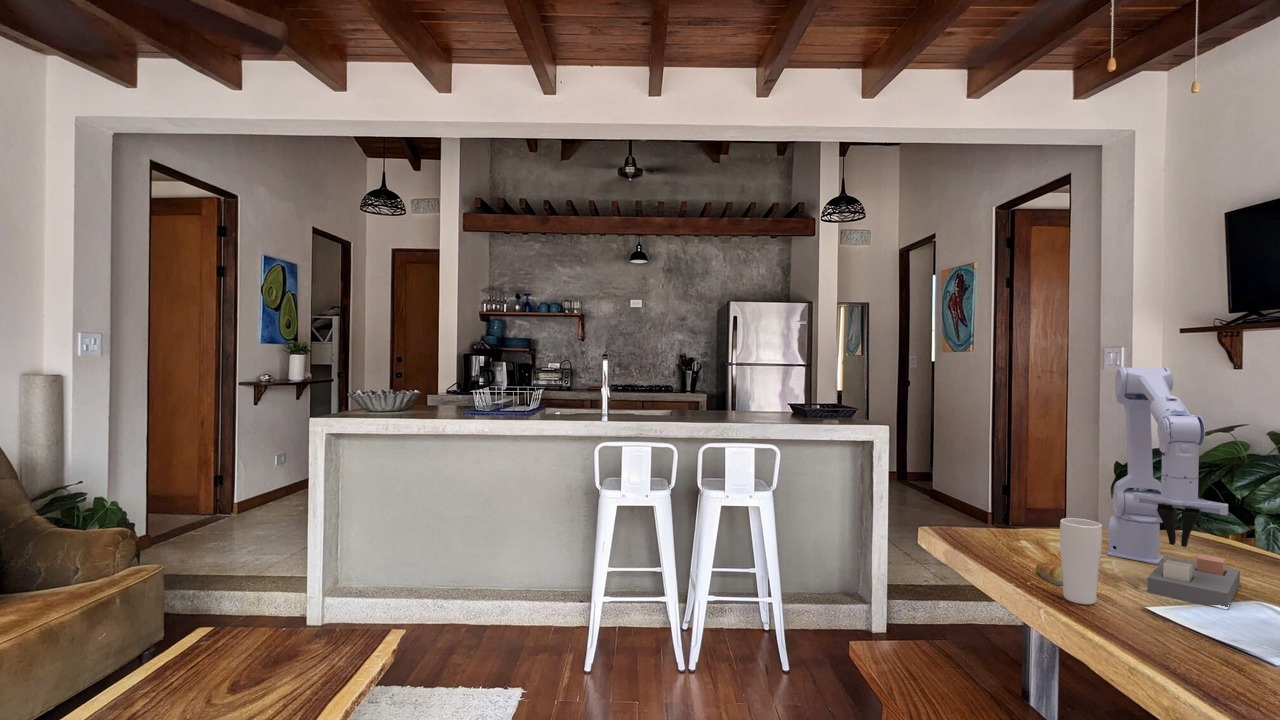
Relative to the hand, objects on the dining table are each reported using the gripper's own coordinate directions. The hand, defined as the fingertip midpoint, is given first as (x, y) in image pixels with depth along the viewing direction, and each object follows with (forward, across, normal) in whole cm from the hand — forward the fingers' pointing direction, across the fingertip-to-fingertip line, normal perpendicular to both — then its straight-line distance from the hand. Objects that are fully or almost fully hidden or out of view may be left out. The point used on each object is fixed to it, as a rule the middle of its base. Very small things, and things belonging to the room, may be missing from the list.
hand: (1178, 544), depth 134 cm
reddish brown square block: (+7, +4, +10) cm, 13 cm away
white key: (+7, 0, 0) cm, 7 cm away
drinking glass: (+10, -12, -20) cm, 25 cm away
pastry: (+10, -18, -10) cm, 23 cm away
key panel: (+9, +2, +5) cm, 11 cm away
